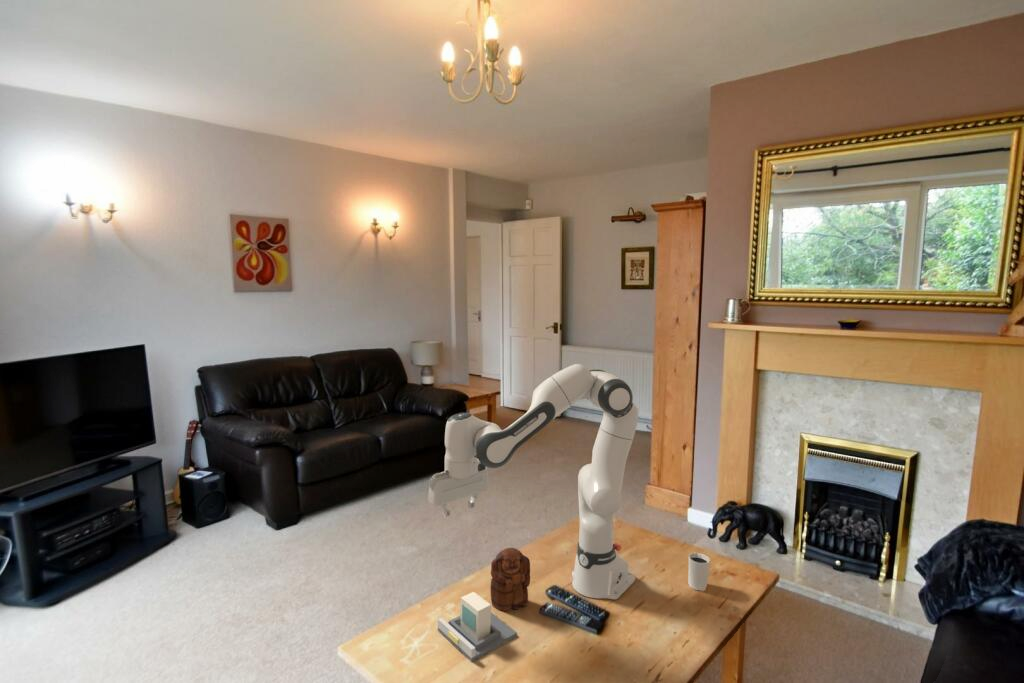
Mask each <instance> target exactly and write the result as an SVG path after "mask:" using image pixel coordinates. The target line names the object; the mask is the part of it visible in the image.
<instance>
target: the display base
mask: <svg viewBox="0 0 1024 683" xmlns="http://www.w3.org/2000/svg"><path fill="white" fill-rule="evenodd" d="M460 625H461V614H460V615H458V616H456V617H455V618H453V619H451V620H448V621H447V620H445V619H444V618H443V617H440V618H437V631H438V633H440V634H441V635H442V636H443V637H444V638H445V639H446V640H447V641H448V642H449V643H450V644H452V645H453V646H454V647H455V648H456V649H457V651H459V652H460V653H461V654H463V656H465V657H466V658H467V660H469V661H470V662H473V661H475V660H478V659H479V658H481V657H482V656H484V655H486V654H488V653H489V652H491V651H493V650H495V649H497V648H498V647H500V646H501V645H503V644H505V643H507V642H509V641H511V640H512V639H514V638H515V637H518V631H516V630H515V629H513V628H511V626H509V624H507V623H505V622H504V620H502V619H500V618H499V617H497V616H496V615H495V614H494V613H492V612H491V625H490V635H489V636H487V637H485V638H483V639H481V640H480V641H478V642H477V641H476V640H475V639H474V638H473V637H471V636H470V635H469V634H468V633H467V632H466V631H464V630H463V629H462V628H461V627H460Z"/></svg>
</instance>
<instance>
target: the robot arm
mask: <svg viewBox="0 0 1024 683" xmlns="http://www.w3.org/2000/svg"><path fill="white" fill-rule="evenodd" d="M531 397H532V398H531V404H530V406H529V408H528V409H527V411H526V413H524V414H522V416H520V417H519V418H518V419H516V421H514V422H513V423H511V424H510V425H509V426H508V427H506V428H504V429H501V427H500V426H499V425H498V424H496V423H495V422H491V421H486V420H483V419H480V418H478V417H476V416H475V415H473V414H472V413H471V412H459V413H455V414H453V415H451V416H450V417H448V419H447V421H446V424H445V430H444V431H445V432H444V447H445V455H444V471H441V472H436V473H435V474H433V475H432V476H431V477H430V479H429V487H428V493H427V494H428V495H427V501H428V502H429V504H430V505H432V506H434V507H439V508H440V509H441V512H442V513H441V514H442V516H443V517H444V518H448V517H449V516H451V510H450V509H448V508H447V507H448V504H449V503H451V502H452V503H453V502H454V501H458V500H461V499H465V498H467V497H470V499H469V500H467V507H468V508H469V509H473V508H476V502H477V499H478V497H479V493H483V492H485V491H487V490H488V488H489V485H490V482H489V481H490V479H489V478H490V477H489V472H488V468H489V469H497V468H498V469H499V468H501V467H503V466H504V465H506V464H507V463H509V461H510V460H511V458H512V457H513V455H514V454H515V452H516V451H517V450H518V449H519V448H520V447H521V446H522V445H523V444H525V443H526V442H527V441H529V440H531V438H532V437H533V436H535V435H536V434H537V433H539V432H540V431H541V430H542V429H544V428H545V427H546V426H547V425H549V423H550V422H552V421H553V420H554V419H555V418H556V417H558V416H559V415H561V414H562V413H563V412H565V411H566V410H568V409H570V408H571V407H572V406H574V405H575V404H577V403H578V402H579V401H582V400H586V399H587V401H590V403H592V405H594V406H595V407H597V408H599V409H602V412H603V415H602V419H601V422H600V426H599V428H598V431H597V435H596V437H595V441H594V444H593V447H592V452H591V454H592V455H591V463H588V464H587V463H586V464H584V465H583V466H582V467H581V468H580V469H579V471H578V475H577V491H578V492H577V495H578V496H577V497H578V514H579V515H578V517H579V531H578V532H579V533H578V542H577V547H576V550H577V551H576V555H575V562H574V567H573V568H574V569H573V570H572V571H571V577H572V582H571V584H572V585H571V586H572V587H573V589H574V590H575V591H576V592H577V593H579V594H580V595H582V596H585V597H587V598H591V599H608V600H617V599H618V600H619V598H620V597H621V595H623V594H624V593H625V592H626V591H627V590H628V588H630V587H631V585H633V583H635V581H636V576H635V575H634V574H633V573H632V572H631V571H629V565H628V562H627V561H626V560H625V559H624V558H623V557H621V555H619V554H617V552H620V551H621V550H622V546H621V544H618V543H616V542H615V543H614V530H615V521H614V517H613V516H614V515H615V514H617V513H618V512H619V510H620V508H621V505H622V489H623V484H624V482H623V481H624V476H625V468H626V464H627V460H628V456H629V454H630V453H629V452H630V450H631V447H632V444H633V440H634V437H635V434H636V430H637V425H638V419H639V408H638V406H637V405H636V404H635V403H634V402H633V400H634V399H633V398H634V397H633V391H632V389H631V387H630V386H629V385H628V383H627V382H625V380H623V379H621V378H620V377H618V376H617V375H614V374H612V373H609V372H606V371H605V370H602V369H590V370H589V368H588V367H587V366H585V365H583V364H581V363H574V364H571V365H570V366H567V367H565V368H563V369H561V370H559V371H556V372H555V373H554V374H552V375H551V376H549V377H548V378H546V379H544V380H543V381H542V382H541V383H539V385H538V386H536V388H534V390H533V392H532V396H531ZM475 456H476V457H477V458H476V457H475ZM616 551H617V552H616Z"/></svg>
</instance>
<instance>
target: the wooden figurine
mask: <svg viewBox="0 0 1024 683" xmlns="http://www.w3.org/2000/svg"><path fill="white" fill-rule="evenodd" d="M490 566H491V567H490V575H491V577H492V578H491V580H490V600H491V607H494V608H495V609H496V610H497V611H501V612H511V610H519V609H521V607H525V606H526V607H528V604H529V591H528V587H529V586H530V584H531V562H530V559H529V557H528V556H526V555H524V554H523V553H522V551H521V550H519V549H517V548H516V547H507V548H504V549H502V550H501V551H499V553H497V555H496V557H495V558H493V560H492V561H491V564H490Z"/></svg>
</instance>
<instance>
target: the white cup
mask: <svg viewBox="0 0 1024 683" xmlns="http://www.w3.org/2000/svg"><path fill="white" fill-rule="evenodd" d="M710 562H711V558H710V557H709V556H708V555H705V554H703V553H700V552H692V553H689V555H688V575H687V576H688V578H687V582H688V584H689V586H690V587H692V588H693V589H696V590H704V589H706V587H707V588H708V582H709V581H708V579H709V571H710ZM688 584H687V585H688ZM689 586H688V587H689ZM690 587H689V588H690ZM693 589H692V590H693ZM706 590H707V589H706Z"/></svg>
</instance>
